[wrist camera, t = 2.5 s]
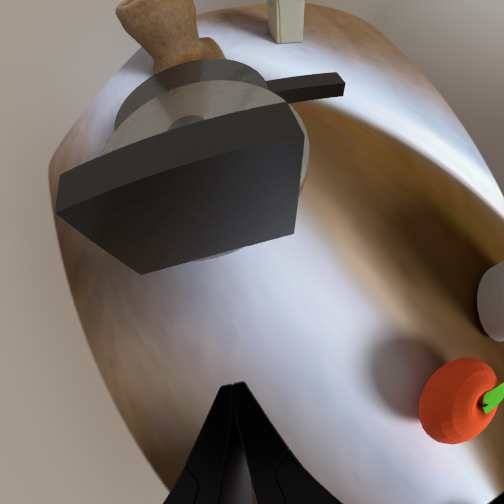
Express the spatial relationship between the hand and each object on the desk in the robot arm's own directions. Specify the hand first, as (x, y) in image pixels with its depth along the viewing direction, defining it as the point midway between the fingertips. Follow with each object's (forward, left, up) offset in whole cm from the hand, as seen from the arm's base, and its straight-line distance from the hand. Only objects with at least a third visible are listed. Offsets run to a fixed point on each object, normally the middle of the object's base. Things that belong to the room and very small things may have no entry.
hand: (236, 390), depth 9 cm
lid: (+13, +5, -4) cm, 14 cm away
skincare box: (+47, 0, -13) cm, 48 cm away
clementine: (-2, -16, -13) cm, 21 cm away
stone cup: (+36, +14, -13) cm, 40 cm away
